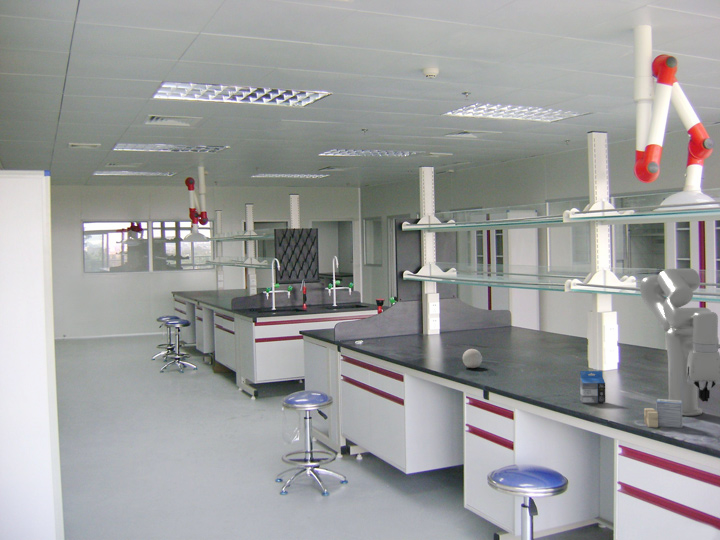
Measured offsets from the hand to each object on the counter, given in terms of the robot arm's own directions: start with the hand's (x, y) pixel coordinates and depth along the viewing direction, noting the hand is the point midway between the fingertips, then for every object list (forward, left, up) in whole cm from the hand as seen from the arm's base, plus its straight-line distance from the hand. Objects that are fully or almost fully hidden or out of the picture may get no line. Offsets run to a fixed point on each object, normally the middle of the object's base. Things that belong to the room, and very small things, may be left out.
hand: (703, 400), depth 220 cm
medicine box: (+2, -12, -9) cm, 15 cm away
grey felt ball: (-101, -81, -9) cm, 129 cm away
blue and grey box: (-30, -32, -9) cm, 44 cm away
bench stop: (+1, -17, -9) cm, 19 cm away
